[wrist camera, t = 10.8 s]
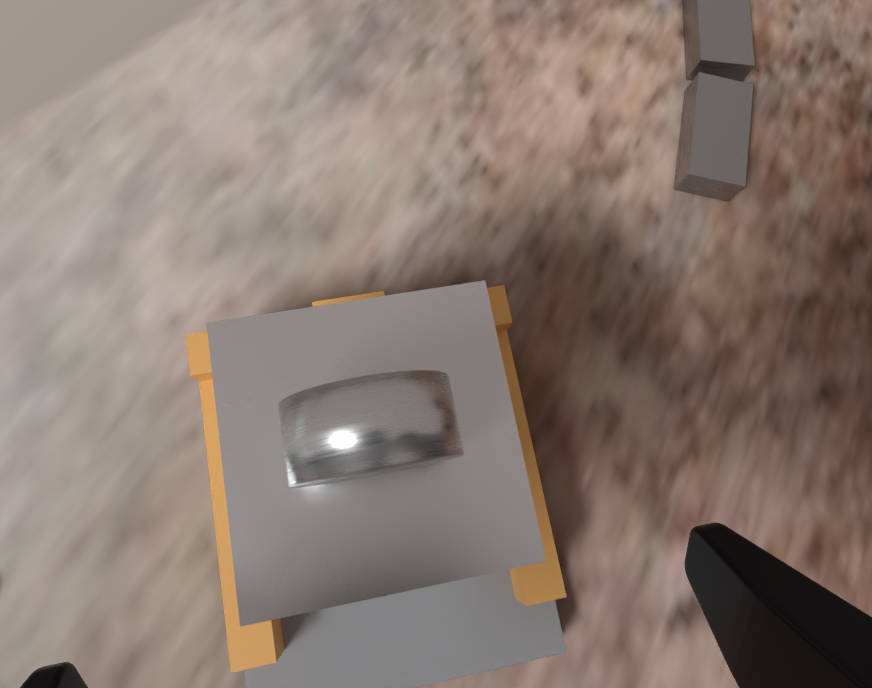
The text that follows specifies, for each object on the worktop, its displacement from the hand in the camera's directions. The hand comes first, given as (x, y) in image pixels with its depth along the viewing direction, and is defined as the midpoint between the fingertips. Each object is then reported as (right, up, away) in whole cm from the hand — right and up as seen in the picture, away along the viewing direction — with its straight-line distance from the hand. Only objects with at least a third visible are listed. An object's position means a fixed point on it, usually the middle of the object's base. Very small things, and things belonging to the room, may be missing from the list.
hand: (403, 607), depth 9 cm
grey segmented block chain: (+12, +17, +17) cm, 27 cm away
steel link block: (-1, 0, +11) cm, 11 cm away
